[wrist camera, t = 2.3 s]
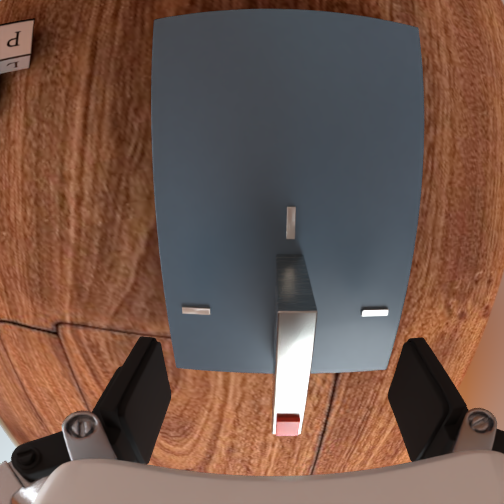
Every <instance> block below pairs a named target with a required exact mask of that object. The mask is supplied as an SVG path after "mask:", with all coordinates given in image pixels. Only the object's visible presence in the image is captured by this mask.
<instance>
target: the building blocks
mask: <svg viewBox="0 0 504 504" xmlns="http://www.w3.org/2000/svg"><path fill="white" fill-rule="evenodd" d="M34 21H35V18H33V19H27V20H21V21H15V22H10V23H5V24H0V74H2V73H6V72H11V71H16V70H21V69H26V68H29V67H30V60H31V53H32V39H33V29H34Z"/></svg>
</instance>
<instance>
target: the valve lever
mask: <svg viewBox="0 0 504 504" xmlns="http://www.w3.org/2000/svg"><path fill="white" fill-rule="evenodd" d="M317 315H318V311H317V307H316V303H315V299H314V295H313V291H312V287H311V283H310V279H309V275H308V271H307V267H306V263H305V259H304V255H303V254H277V255H276V287H275V321H274V348H273V396H272V434H276V436H298V434H301V430H302V425H303V419H304V413H305V406H306V400H307V393H308V387H309V380H310V373H311V365H312V358H313V350H314V342H315V333H316V324H317Z"/></svg>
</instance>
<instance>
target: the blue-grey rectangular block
mask: <svg viewBox="0 0 504 504" xmlns="http://www.w3.org/2000/svg"><path fill="white" fill-rule="evenodd" d="M151 128H152V160H153V180H154V196H155V209H156V222H157V233H158V243H159V253H160V262H161V270H162V278H163V286H164V294H165V301H166V308H167V314H168V321H169V327H170V334H171V340H172V345H173V351H174V357H175V362H176V367H177V368H184V369H195V370H207V371H222V372H241V373H273V348H274V321H275V287H276V255H277V254H303V255H304V259H305V263H306V267H307V271H308V275H309V279H310V283H311V287H312V291H313V295H314V299H315V303H316V307H317V311H318V315H317V324H316V333H315V342H314V350H313V358H312V365H311V373H341V372H360V371H374V370H386V369H387V366H388V363H389V359H390V356H391V352H392V349H393V345H394V341H395V338H396V334H397V330H398V326H399V322H400V318H401V314H402V309H403V305H404V300H405V296H406V291H407V286H408V281H409V275H410V270H411V264H412V258H413V252H414V246H415V239H416V232H417V224H418V216H419V207H420V197H421V186H422V172H423V152H424V89H423V71H422V58H421V47H420V38H419V29H418V28H417V27H414V26H410V25H405V24H401V23H397V22H392V21H387V20H382V19H377V18H371V17H365V16H359V15H352V14H344V13H336V12H326V11H315V10H299V9H239V10H223V11H211V12H201V13H193V14H185V15H178V16H172V17H166V18H160V19H155V20H154V29H153V47H152V78H151Z"/></svg>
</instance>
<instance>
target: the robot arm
mask: <svg viewBox="0 0 504 504" xmlns="http://www.w3.org/2000/svg"><path fill="white" fill-rule="evenodd" d="M388 399H389V402H390V405H391V408H392V410H393V413H394V415H395V418H396V421H397V423H398V426H399V429H400V432H401V434H402V437H403V440H404V443H405V446H406V448H407V451H408V454H409V457H410V460H411V461H412V462H409V463H404V464H399V465H393V466H388V467H382V468H376V469H369V470H362V471H354V472H345V473H335V474H323V475H306V476H243V475H226V474H214V473H203V472H195V471H187V470H179V469H171V468H165V467H158V466H153V465H147V464H148V463H149V461H150V458H151V455H152V452H153V449H154V446H155V443H156V440H157V437H158V434H159V431H160V429H161V426H162V423H163V420H164V417H165V414H166V411H167V408H168V406H169V403H170V400H171V390H170V385H169V381H168V376H167V372H166V367H165V362H164V357H163V352H162V347H161V343H160V342H157V341H156V339H155V338H152V337H140V338H139V339H138V341H137V343H136V344H135V346H134V348H133V349H132V351H131V353H130V354H129V356H128V358H127V359H126V361H125V363H124V364H123V366H122V367H119V368H118V369H117V370H116V372H115V373H114V375H113V377H112V379H111V380H110V382H109V384H108V385H107V387H106V389H105V390H104V392H103V394H102V395H101V397H100V399H99V401H98V402H97V404H96V406H95V408H94V409H93V411H92V412H89V411H77V412H74V413H72V414H70V415H69V416H67V417H66V419H65V420H64V421H63V424H62V431H61V432H58V433H55V434H52V435H49V436H46V437H43V438H40V439H37V440H34V441H31V442H27V443H24V444H22V445H20V446H18V447H17V448H16V449H15V450H14V452H13V453H12V457H11V462H9V463H7V462H6V461H4V462H2V463H1V464H0V504H504V431H501V430H499V429H497V421H496V418H495V417H494V415H493V414H492V413H491V412H489V411H488V410H485V409H481V408H474V409H471V410H468V409H467V407H466V406H467V405H466V403H465V402H464V400H463V399H462V397H461V395H460V394H459V392H458V390H457V389H456V387H455V385H454V384H453V382H452V381H451V379H450V377H449V376H448V374H447V373H446V371H445V370H444V368H443V366H442V365H441V363H440V362H439V360H438V359H437V357H436V356H435V354H434V353H433V351H432V350H431V348H430V347H429V345H428V344H427V342H426V341H425V339H424V338H422V337H421V338H410V339H409V340H408V341H407V342H406V343H404V345H403V348H402V351H401V355H400V358H399V361H398V365H397V368H396V371H395V374H394V377H393V380H392V383H391V386H390V389H389V392H388Z"/></svg>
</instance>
